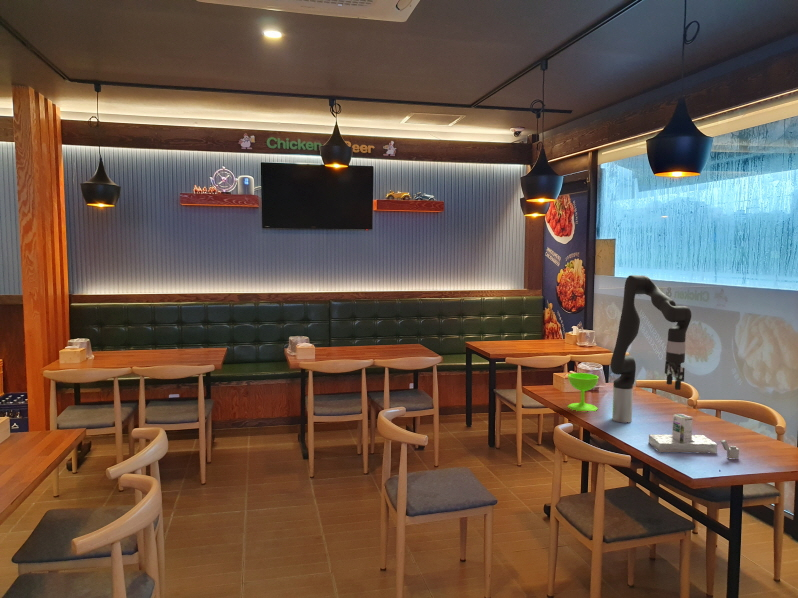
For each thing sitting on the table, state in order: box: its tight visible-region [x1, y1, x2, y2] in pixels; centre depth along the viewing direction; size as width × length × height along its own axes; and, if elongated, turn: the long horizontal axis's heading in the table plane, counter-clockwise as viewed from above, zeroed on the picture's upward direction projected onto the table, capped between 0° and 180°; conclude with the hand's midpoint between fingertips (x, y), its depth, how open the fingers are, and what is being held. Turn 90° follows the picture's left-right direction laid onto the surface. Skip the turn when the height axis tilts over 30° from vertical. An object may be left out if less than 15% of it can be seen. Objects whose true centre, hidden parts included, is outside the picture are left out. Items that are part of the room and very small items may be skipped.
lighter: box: [720, 439, 740, 459], centre depth 236 cm, size 7×2×8 cm, turn 93°
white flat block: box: [648, 434, 718, 454], centre depth 249 cm, size 12×24×4 cm, turn 87°
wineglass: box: [567, 372, 599, 412], centre depth 312 cm, size 16×16×18 cm
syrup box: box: [671, 413, 694, 442], centre depth 249 cm, size 6×6×14 cm
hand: (673, 387), depth 252 cm, fingers open, 8 cm apart
